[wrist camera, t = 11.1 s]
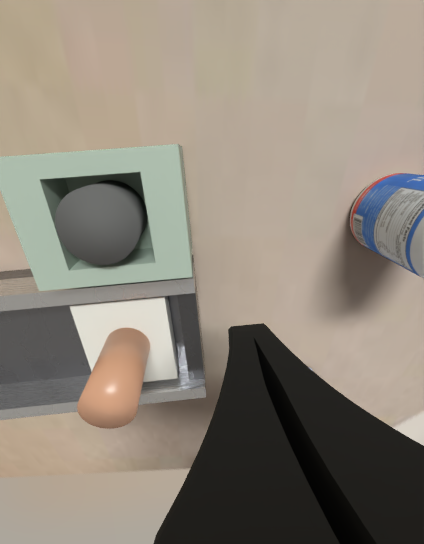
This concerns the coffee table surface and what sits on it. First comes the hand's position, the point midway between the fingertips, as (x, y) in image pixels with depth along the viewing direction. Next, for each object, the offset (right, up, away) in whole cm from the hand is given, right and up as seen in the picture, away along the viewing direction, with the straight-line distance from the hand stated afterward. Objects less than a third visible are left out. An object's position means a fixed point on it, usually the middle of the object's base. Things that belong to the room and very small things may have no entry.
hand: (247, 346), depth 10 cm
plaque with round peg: (-7, -2, +10) cm, 12 cm away
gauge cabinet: (-7, +7, +8) cm, 13 cm away
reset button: (-7, +6, +5) cm, 10 cm away
